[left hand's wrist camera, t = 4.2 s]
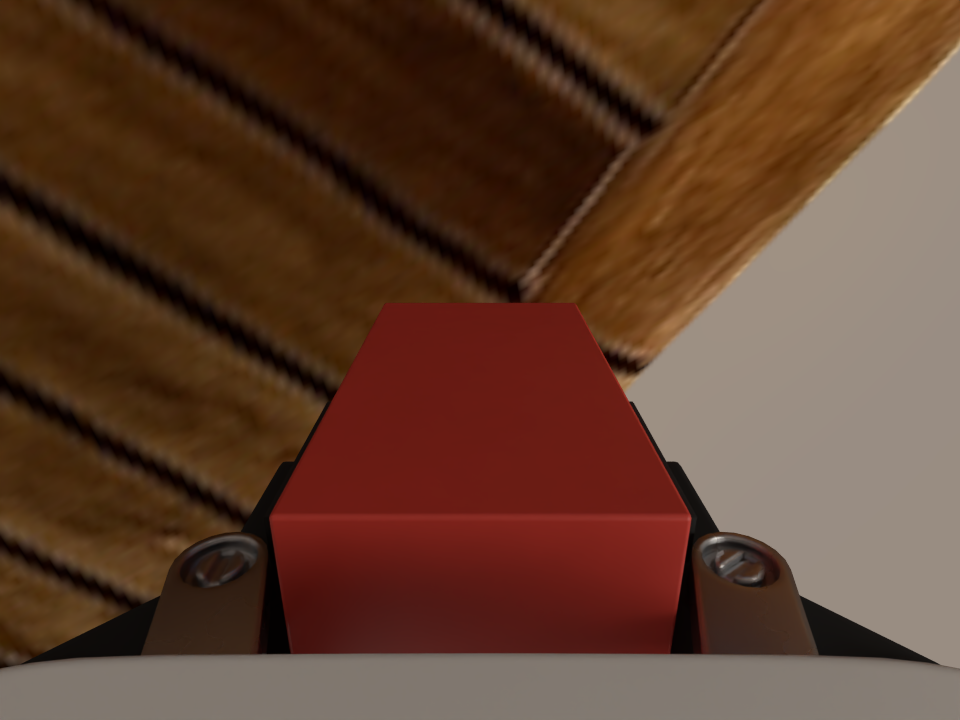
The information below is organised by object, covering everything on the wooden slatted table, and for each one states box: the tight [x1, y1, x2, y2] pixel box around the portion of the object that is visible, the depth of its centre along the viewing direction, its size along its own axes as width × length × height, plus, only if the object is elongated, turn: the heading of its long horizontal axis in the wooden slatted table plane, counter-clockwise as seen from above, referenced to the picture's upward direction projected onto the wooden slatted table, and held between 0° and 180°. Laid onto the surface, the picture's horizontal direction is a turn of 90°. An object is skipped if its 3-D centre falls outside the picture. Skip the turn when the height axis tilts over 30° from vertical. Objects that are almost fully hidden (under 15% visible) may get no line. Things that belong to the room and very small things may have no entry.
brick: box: [269, 303, 691, 654], centre depth 11 cm, size 5×5×8 cm
